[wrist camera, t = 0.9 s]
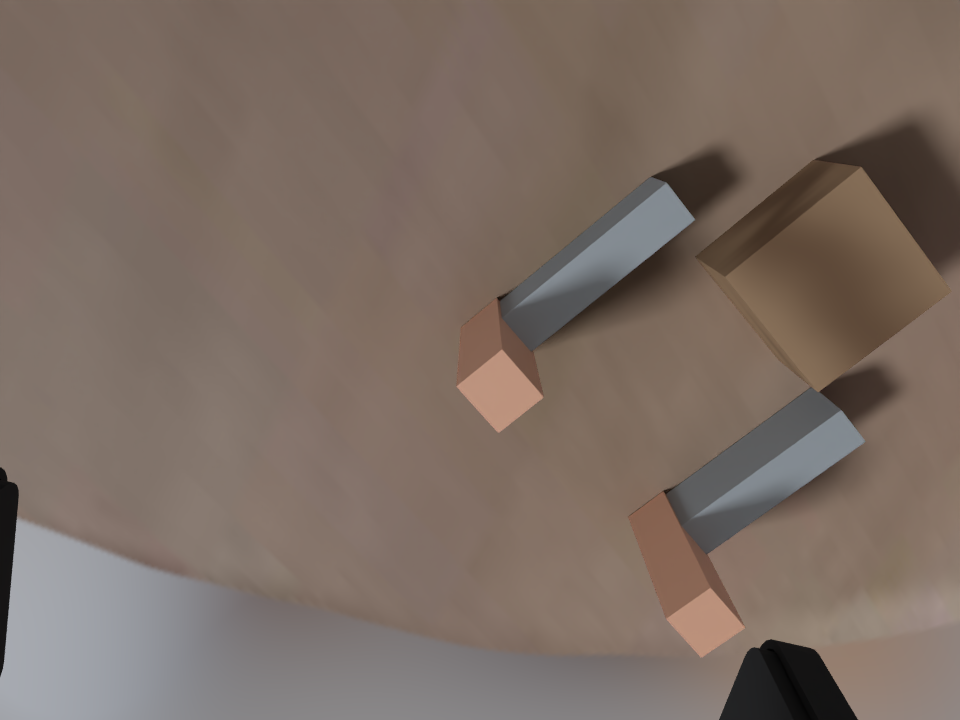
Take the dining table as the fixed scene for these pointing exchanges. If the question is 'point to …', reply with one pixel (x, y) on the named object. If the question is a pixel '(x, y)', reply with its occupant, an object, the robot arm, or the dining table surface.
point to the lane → (708, 492)
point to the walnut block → (824, 271)
